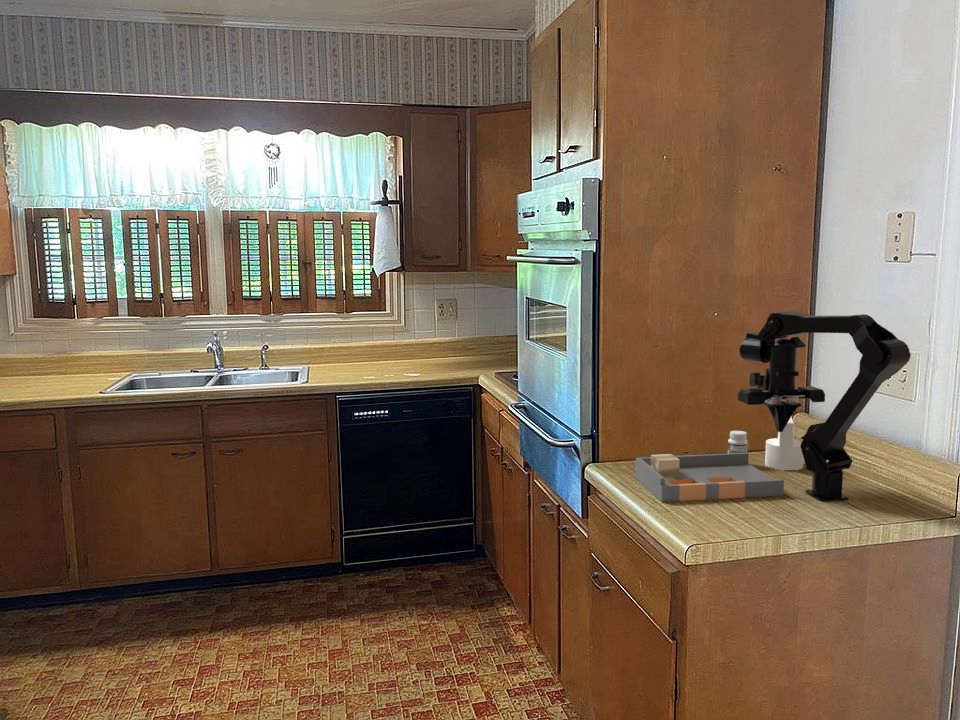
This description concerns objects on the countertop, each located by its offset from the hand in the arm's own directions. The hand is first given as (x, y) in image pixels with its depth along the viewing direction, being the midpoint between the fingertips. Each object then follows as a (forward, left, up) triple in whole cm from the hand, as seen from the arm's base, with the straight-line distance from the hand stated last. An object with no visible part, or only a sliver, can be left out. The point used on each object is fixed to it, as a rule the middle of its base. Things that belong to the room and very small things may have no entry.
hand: (779, 431), depth 176 cm
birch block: (+2, +27, -10) cm, 29 cm away
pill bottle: (+15, +3, -12) cm, 20 cm away
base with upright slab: (+12, -8, -12) cm, 19 cm away
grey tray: (-1, +18, -12) cm, 22 cm away
